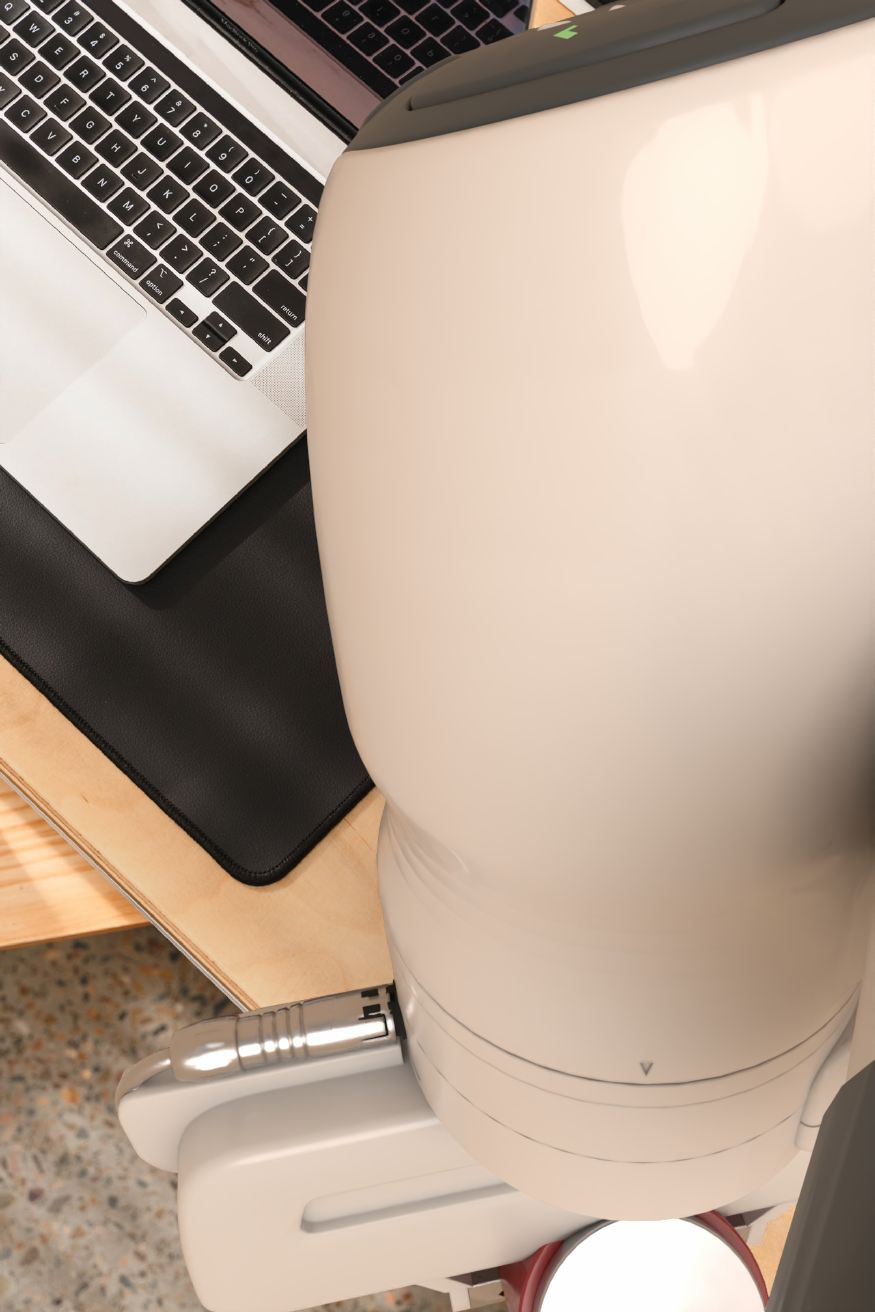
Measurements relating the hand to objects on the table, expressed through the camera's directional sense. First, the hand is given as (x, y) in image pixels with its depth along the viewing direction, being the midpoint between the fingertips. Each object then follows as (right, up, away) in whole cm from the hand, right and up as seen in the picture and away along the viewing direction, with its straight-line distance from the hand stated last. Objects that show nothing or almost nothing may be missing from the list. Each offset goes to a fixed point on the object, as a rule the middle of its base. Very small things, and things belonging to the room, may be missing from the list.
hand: (601, 1249), depth 28 cm
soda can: (-1, 0, +7) cm, 7 cm away
